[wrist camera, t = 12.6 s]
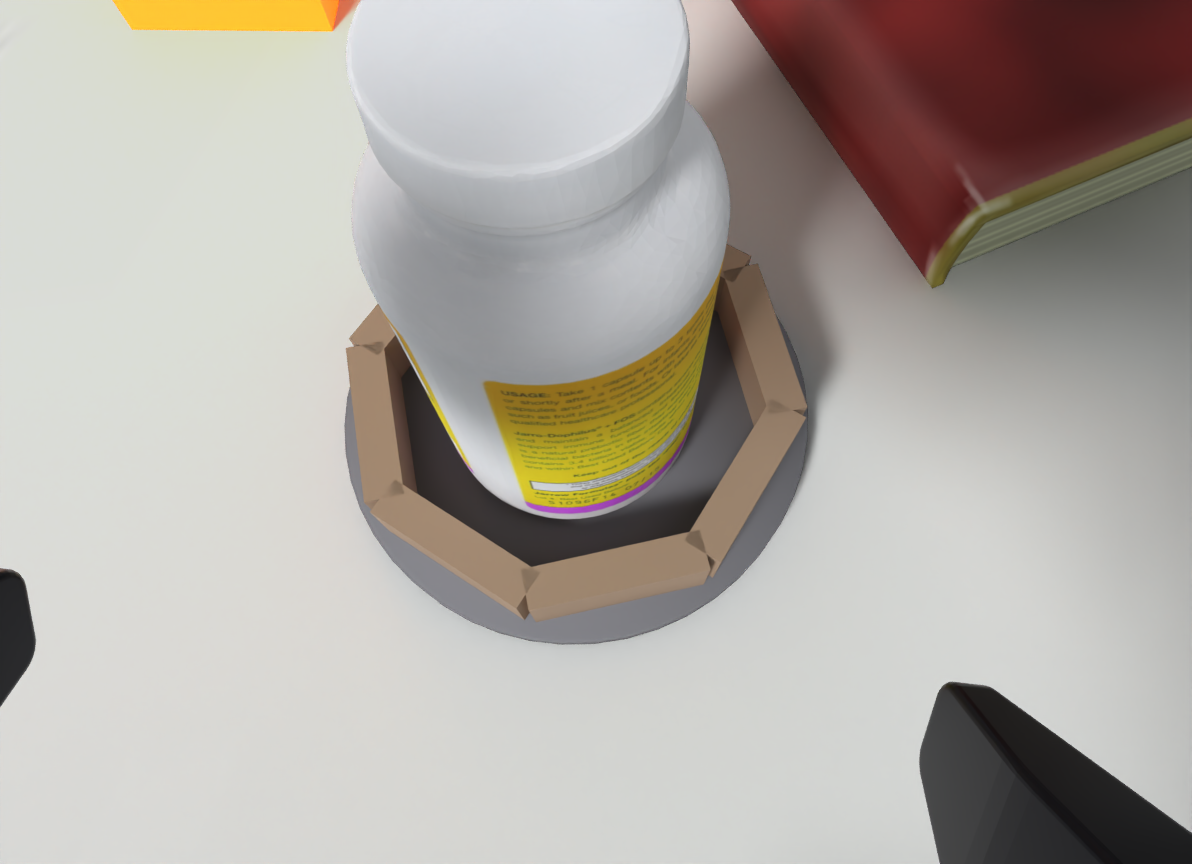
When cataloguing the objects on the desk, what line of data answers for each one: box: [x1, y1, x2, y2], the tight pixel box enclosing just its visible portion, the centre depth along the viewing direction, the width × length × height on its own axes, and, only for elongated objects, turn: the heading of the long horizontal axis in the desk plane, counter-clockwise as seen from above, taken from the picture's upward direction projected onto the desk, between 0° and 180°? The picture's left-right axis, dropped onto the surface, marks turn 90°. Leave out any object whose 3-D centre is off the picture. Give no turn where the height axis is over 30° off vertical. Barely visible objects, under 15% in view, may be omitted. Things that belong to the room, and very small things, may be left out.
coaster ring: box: [345, 244, 808, 644], centre depth 22 cm, size 13×13×3 cm
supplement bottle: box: [346, 0, 730, 519], centre depth 17 cm, size 7×7×13 cm
